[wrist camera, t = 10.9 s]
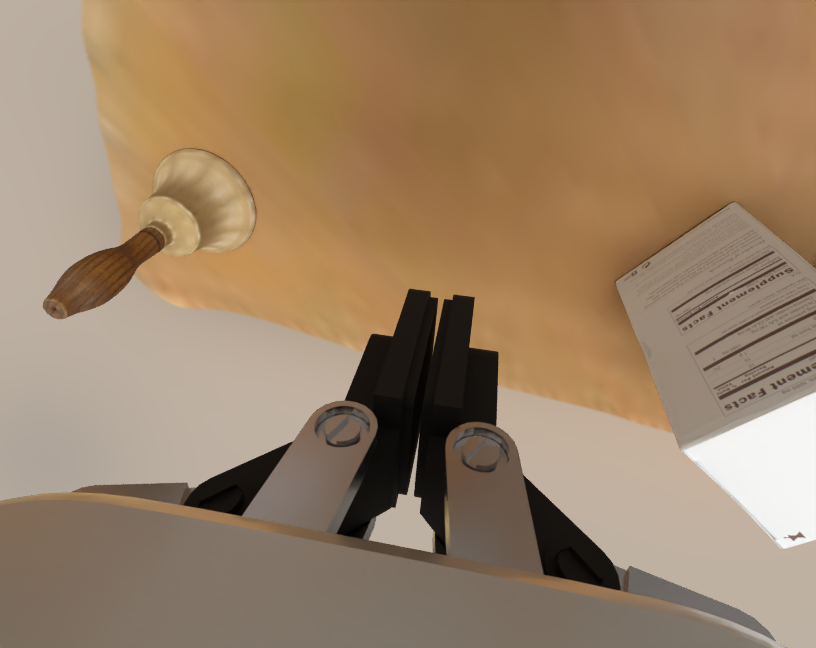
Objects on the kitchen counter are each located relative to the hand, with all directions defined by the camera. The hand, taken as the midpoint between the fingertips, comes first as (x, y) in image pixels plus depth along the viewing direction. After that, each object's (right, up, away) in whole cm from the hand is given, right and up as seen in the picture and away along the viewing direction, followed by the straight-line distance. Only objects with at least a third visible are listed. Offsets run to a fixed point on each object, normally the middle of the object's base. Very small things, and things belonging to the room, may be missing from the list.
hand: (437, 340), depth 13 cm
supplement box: (+21, +3, +23) cm, 31 cm away
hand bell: (-17, +10, +26) cm, 32 cm away
